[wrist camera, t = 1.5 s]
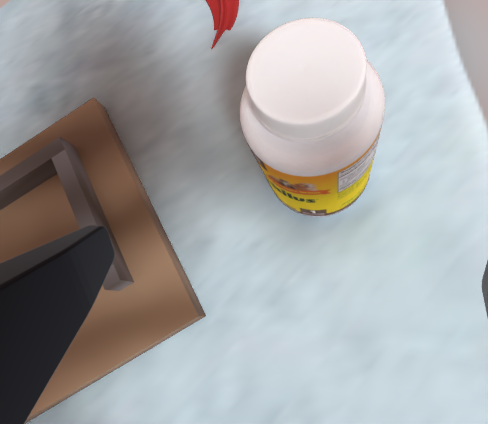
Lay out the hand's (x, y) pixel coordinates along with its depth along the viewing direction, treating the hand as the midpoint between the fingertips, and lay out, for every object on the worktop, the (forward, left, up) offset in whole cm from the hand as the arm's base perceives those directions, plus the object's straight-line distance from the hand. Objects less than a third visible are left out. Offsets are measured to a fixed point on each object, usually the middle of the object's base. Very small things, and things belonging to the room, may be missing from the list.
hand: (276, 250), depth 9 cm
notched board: (+4, +16, -12) cm, 21 cm away
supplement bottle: (+6, -2, -13) cm, 14 cm away
